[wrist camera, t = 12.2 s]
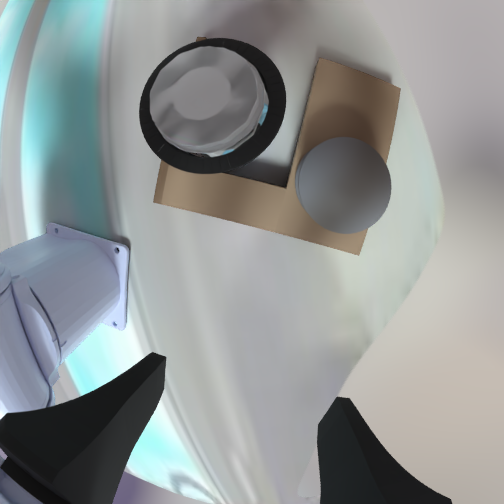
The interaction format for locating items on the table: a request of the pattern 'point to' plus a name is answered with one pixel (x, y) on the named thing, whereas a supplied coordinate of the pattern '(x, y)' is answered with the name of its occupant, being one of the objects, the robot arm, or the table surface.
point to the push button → (212, 106)
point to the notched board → (320, 123)
